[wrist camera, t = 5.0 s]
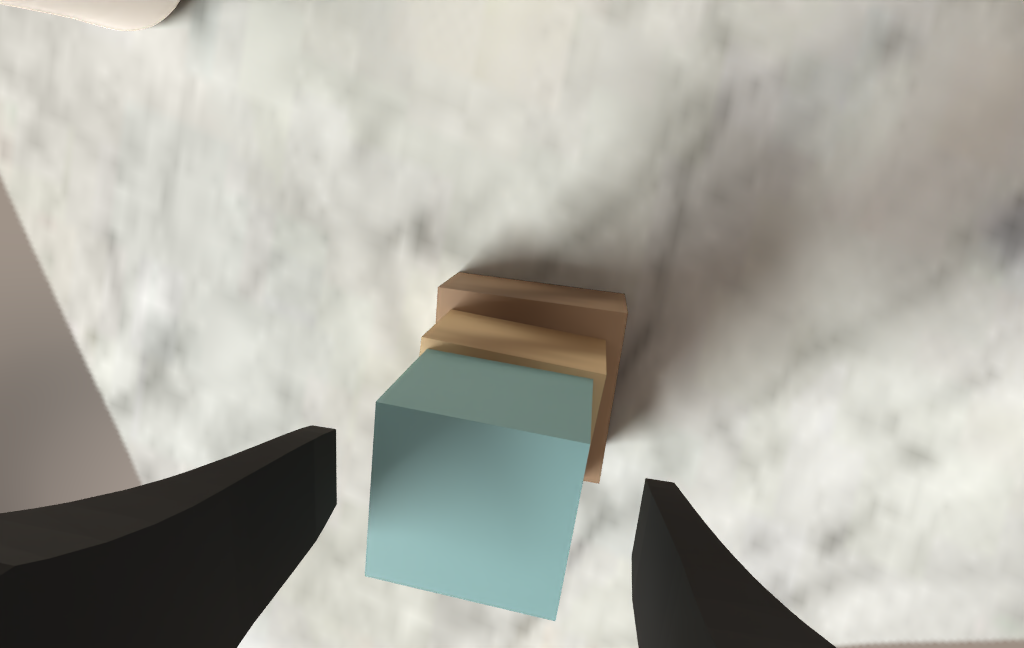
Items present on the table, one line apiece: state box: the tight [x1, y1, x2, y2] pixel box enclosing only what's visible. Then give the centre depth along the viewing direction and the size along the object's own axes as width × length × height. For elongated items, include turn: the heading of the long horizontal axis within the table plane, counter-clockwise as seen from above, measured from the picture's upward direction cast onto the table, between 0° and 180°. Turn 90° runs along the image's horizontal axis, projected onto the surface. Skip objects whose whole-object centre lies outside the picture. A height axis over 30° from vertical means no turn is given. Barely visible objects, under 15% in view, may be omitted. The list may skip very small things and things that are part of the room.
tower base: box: [436, 272, 628, 483], centre depth 19 cm, size 6×6×3 cm
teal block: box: [365, 349, 593, 621], centre depth 13 cm, size 4×4×4 cm
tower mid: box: [419, 309, 607, 459], centre depth 16 cm, size 5×5×3 cm
